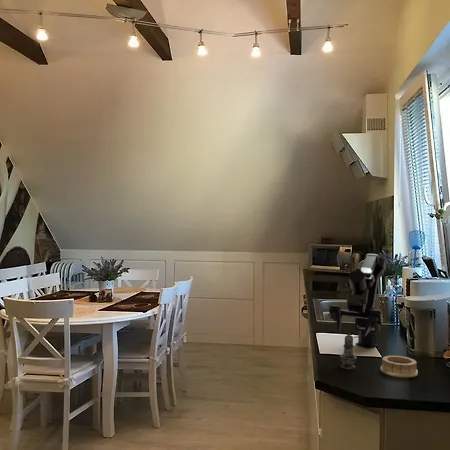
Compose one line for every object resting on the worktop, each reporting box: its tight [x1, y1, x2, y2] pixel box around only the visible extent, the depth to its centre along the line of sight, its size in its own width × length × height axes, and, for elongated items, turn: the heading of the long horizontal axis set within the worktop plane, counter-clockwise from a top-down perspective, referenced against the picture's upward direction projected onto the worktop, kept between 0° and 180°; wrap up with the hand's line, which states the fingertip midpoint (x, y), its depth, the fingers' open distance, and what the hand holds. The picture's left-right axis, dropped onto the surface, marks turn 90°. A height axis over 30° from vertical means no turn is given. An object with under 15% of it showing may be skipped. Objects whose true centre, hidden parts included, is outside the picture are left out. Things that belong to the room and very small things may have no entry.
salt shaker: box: [339, 332, 358, 370], centre depth 176 cm, size 6×6×12 cm
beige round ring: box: [380, 355, 419, 379], centre depth 172 cm, size 12×12×4 cm
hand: (351, 334), depth 179 cm, fingers open, 9 cm apart
